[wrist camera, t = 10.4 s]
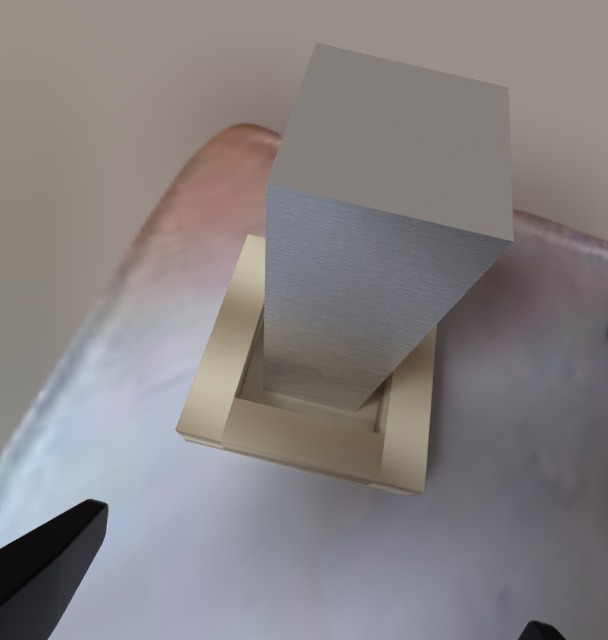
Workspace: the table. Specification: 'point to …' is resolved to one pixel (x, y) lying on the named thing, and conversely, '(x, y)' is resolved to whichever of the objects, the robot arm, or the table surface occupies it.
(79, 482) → the table surface
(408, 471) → the socket block
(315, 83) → the steel bar
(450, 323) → the table surface
